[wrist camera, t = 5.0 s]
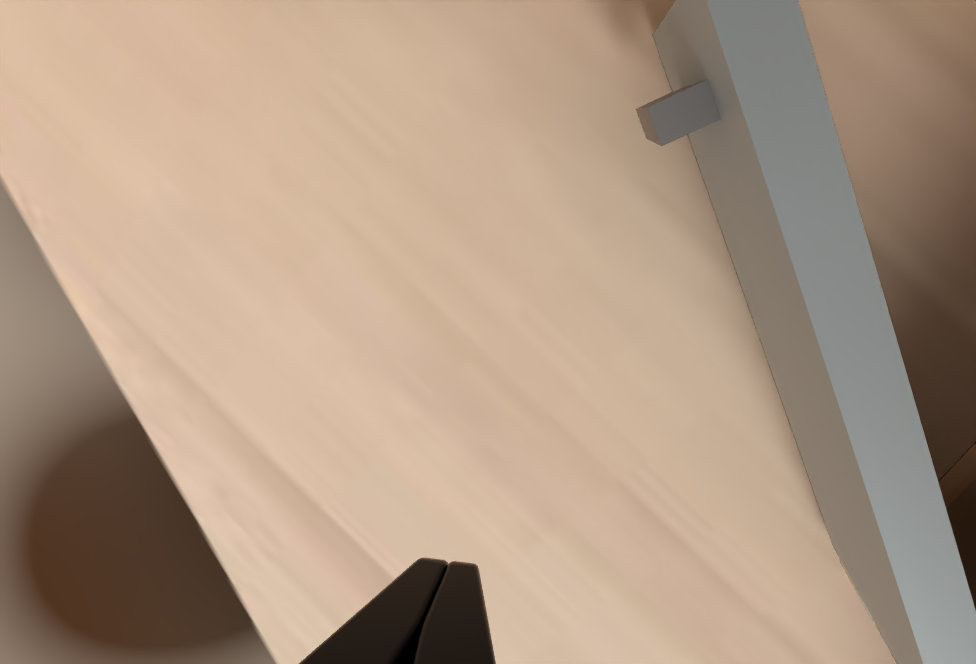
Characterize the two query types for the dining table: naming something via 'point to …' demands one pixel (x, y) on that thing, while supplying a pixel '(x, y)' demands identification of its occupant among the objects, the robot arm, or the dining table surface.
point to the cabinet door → (817, 308)
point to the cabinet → (963, 512)
